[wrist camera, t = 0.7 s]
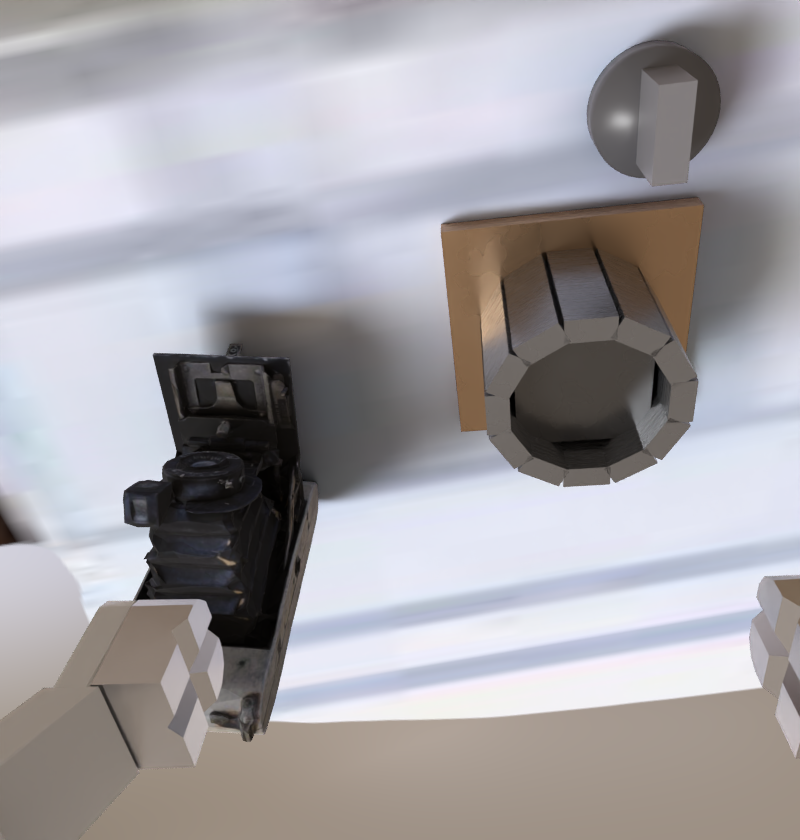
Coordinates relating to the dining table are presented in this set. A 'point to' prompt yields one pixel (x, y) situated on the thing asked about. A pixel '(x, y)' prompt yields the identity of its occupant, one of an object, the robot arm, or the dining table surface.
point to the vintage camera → (231, 519)
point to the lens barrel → (576, 335)
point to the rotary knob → (654, 111)
